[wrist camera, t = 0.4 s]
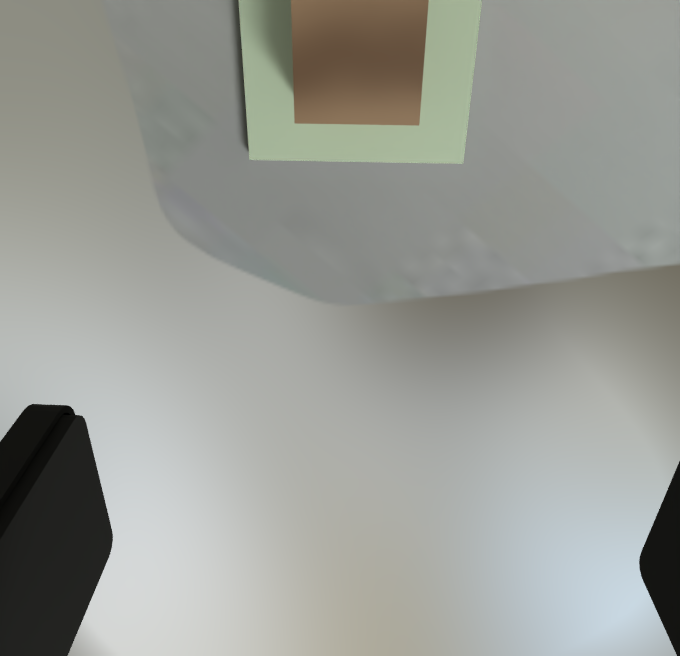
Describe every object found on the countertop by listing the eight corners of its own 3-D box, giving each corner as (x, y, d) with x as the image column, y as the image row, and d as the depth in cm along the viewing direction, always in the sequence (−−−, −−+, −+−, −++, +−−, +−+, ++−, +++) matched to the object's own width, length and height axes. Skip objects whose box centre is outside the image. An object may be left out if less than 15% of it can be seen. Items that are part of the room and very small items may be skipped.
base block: (298, -24, 30) (290, -20, 26) (422, -22, 30) (429, -18, 26) (301, 105, 33) (294, 123, 30) (413, 107, 33) (419, 125, 30)
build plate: (234, -98, 29) (231, -99, 28) (490, -96, 29) (493, -97, 28) (251, 155, 35) (249, 159, 35) (461, 159, 35) (463, 163, 34)
